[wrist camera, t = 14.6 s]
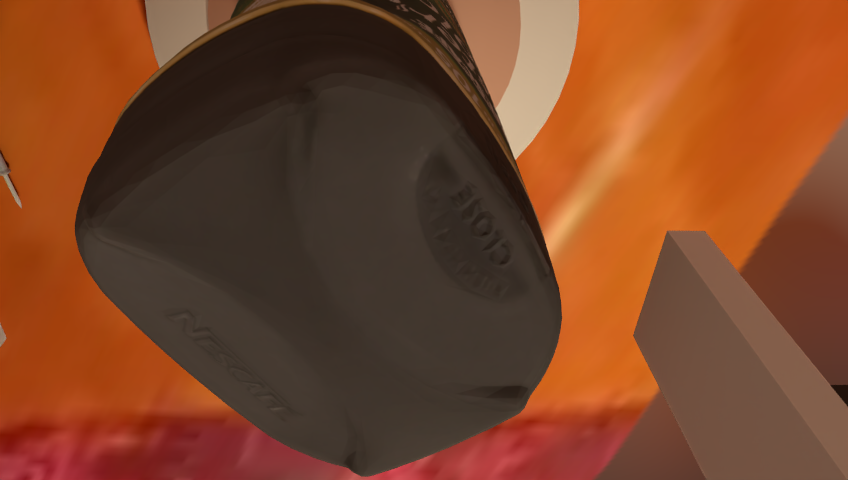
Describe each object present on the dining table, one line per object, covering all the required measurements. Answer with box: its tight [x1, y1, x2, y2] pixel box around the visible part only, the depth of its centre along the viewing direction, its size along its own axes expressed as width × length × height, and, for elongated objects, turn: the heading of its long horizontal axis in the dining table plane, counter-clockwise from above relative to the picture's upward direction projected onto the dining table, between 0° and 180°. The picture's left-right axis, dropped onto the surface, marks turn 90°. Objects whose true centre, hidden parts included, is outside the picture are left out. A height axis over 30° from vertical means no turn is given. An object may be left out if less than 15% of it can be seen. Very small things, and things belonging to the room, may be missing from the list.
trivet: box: [145, 0, 579, 159], centre depth 26 cm, size 18×18×1 cm
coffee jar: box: [75, 0, 562, 476], centre depth 18 cm, size 10×8×19 cm
